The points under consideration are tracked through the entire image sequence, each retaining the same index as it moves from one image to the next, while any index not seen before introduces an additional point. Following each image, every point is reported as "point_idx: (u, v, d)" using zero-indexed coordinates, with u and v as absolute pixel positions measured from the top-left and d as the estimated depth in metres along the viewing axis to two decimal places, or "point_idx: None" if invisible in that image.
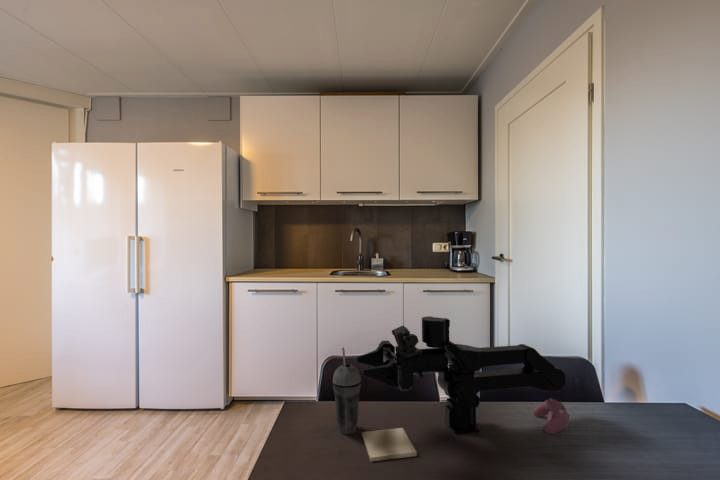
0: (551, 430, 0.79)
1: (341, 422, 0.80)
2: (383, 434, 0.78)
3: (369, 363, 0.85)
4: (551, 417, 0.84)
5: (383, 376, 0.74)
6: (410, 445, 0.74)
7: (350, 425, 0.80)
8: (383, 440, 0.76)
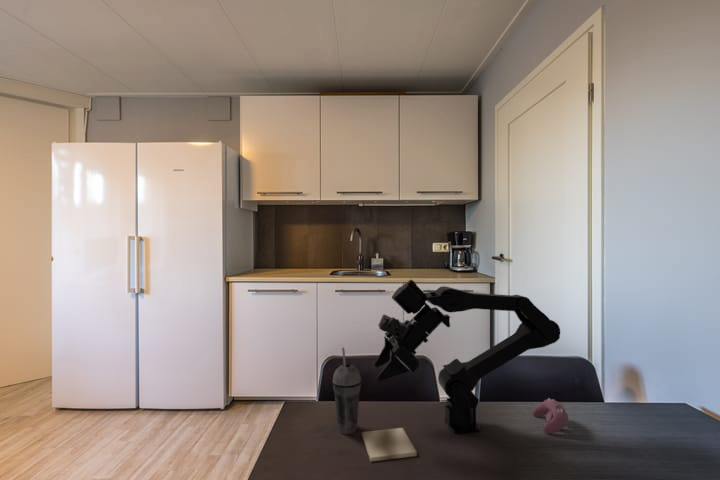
0: (549, 430, 0.79)
1: (341, 422, 0.80)
2: (383, 434, 0.78)
3: (387, 360, 0.88)
4: (550, 417, 0.84)
5: (394, 370, 0.77)
6: (410, 445, 0.74)
7: (350, 425, 0.80)
8: (383, 440, 0.76)
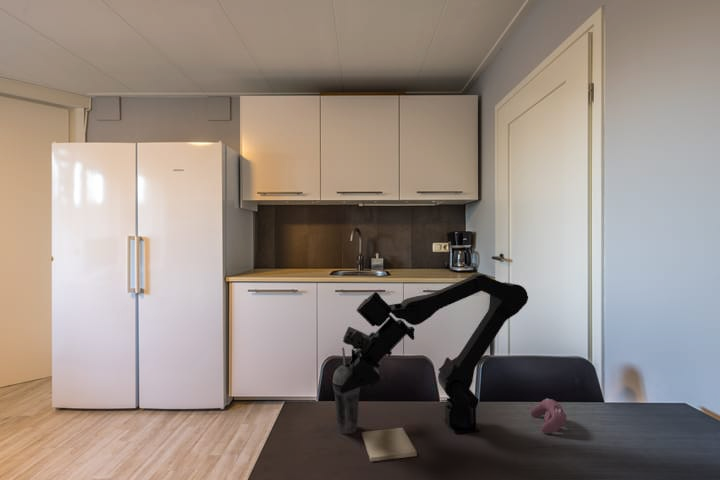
0: (547, 430, 0.79)
1: (341, 422, 0.80)
2: (383, 434, 0.78)
3: None
4: (548, 417, 0.84)
5: (356, 383, 0.78)
6: (410, 445, 0.74)
7: (350, 425, 0.80)
8: (383, 440, 0.76)
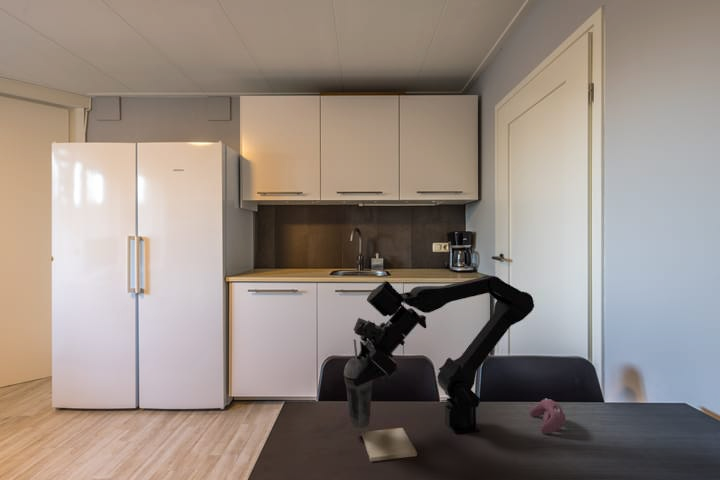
0: (547, 430, 0.79)
1: (355, 416, 0.78)
2: (383, 434, 0.78)
3: None
4: (547, 417, 0.84)
5: (370, 374, 0.76)
6: (410, 445, 0.74)
7: (364, 419, 0.78)
8: (383, 440, 0.76)
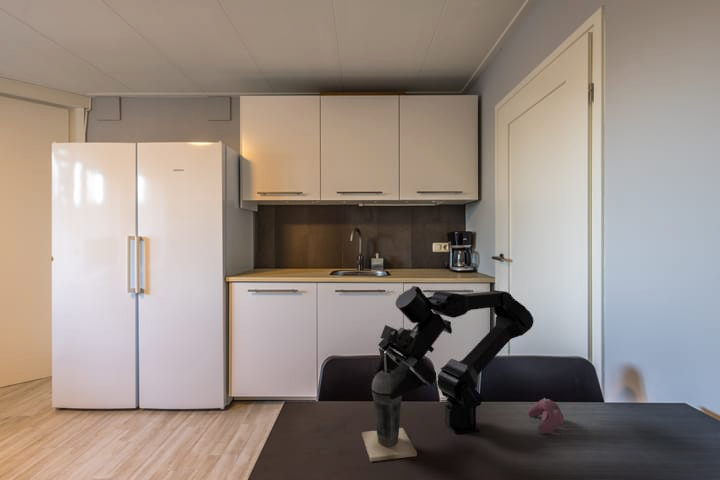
0: (545, 430, 0.79)
1: (386, 434, 0.73)
2: None
3: None
4: (545, 417, 0.84)
5: (407, 386, 0.71)
6: (410, 445, 0.74)
7: (395, 436, 0.74)
8: None
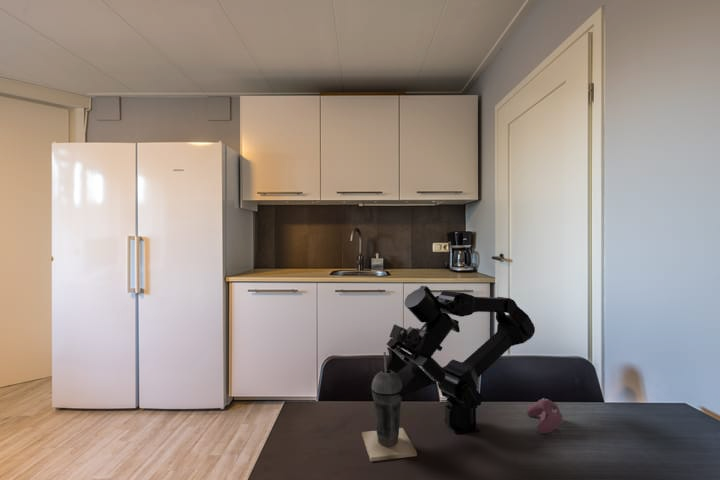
0: (544, 430, 0.79)
1: (386, 434, 0.73)
2: None
3: None
4: (544, 417, 0.84)
5: (417, 384, 0.72)
6: (410, 445, 0.74)
7: (395, 436, 0.74)
8: None
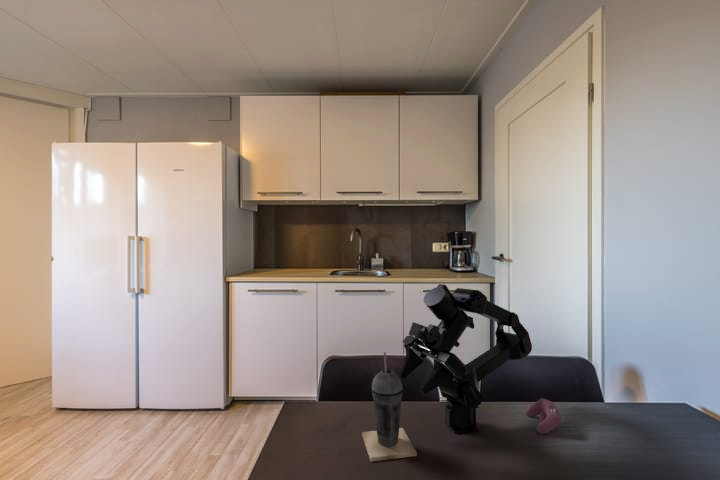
0: (542, 430, 0.79)
1: (386, 434, 0.73)
2: None
3: (412, 369, 0.83)
4: (543, 417, 0.84)
5: (439, 380, 0.74)
6: (410, 445, 0.74)
7: (395, 436, 0.74)
8: None
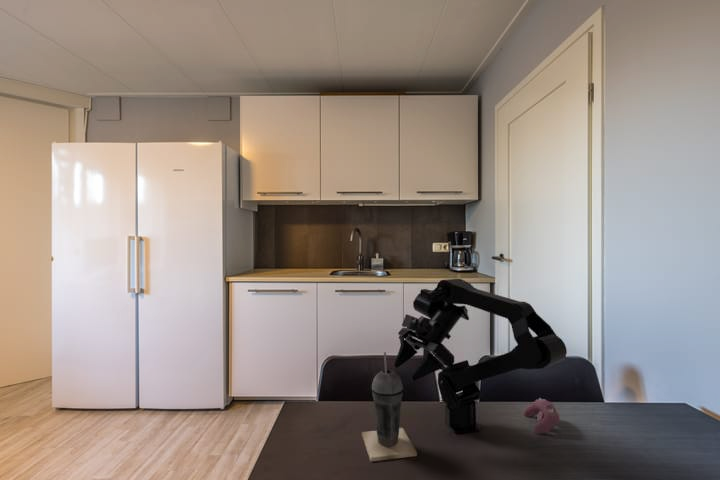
0: (540, 430, 0.79)
1: (386, 434, 0.73)
2: None
3: (405, 359, 0.88)
4: (541, 417, 0.84)
5: (428, 368, 0.78)
6: (410, 445, 0.74)
7: (395, 436, 0.74)
8: None
